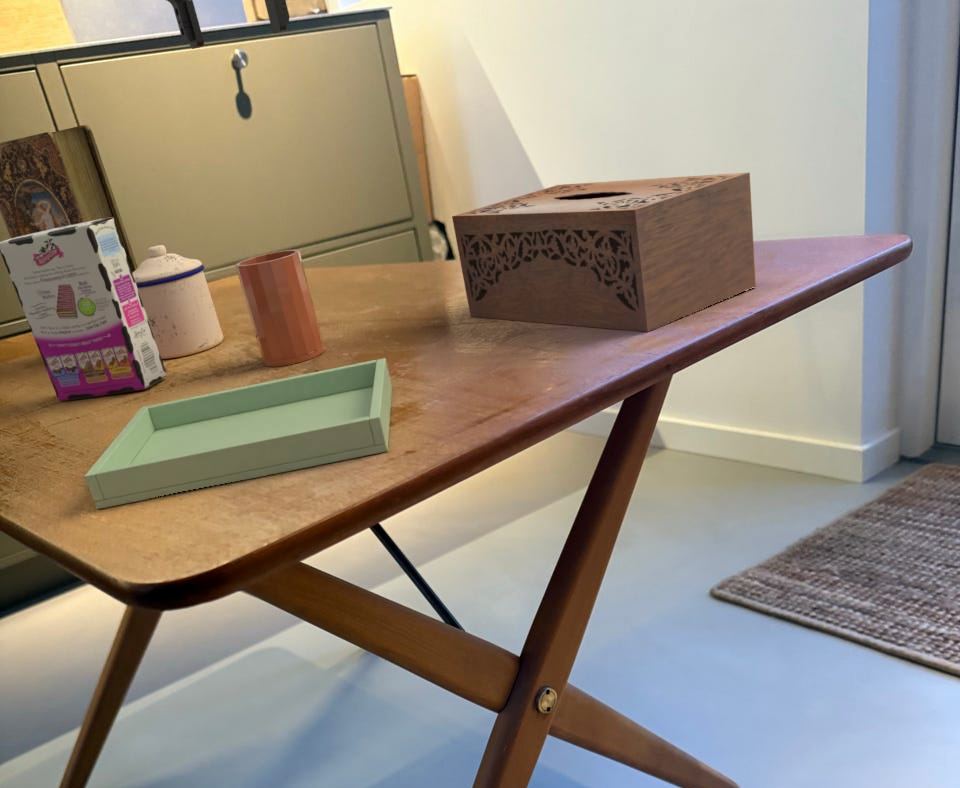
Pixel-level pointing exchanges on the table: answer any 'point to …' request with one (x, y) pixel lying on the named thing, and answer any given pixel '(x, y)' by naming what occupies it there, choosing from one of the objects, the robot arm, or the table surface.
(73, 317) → the candy bar box
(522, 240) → the tissue box cover
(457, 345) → the table surface
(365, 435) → the tray
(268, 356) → the cup
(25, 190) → the book
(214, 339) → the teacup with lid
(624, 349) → the table surface
